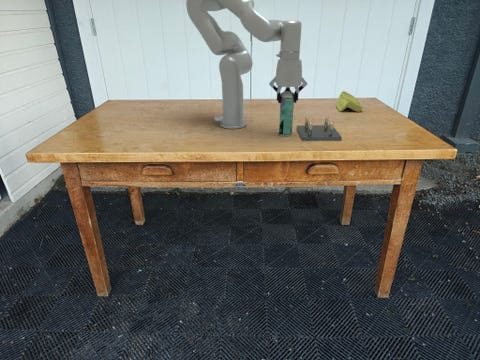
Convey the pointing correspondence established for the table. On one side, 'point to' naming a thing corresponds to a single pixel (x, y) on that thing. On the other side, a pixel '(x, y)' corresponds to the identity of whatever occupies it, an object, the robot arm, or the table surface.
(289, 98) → the spray can
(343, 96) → the plastic component
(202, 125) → the table surface
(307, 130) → the post plate
